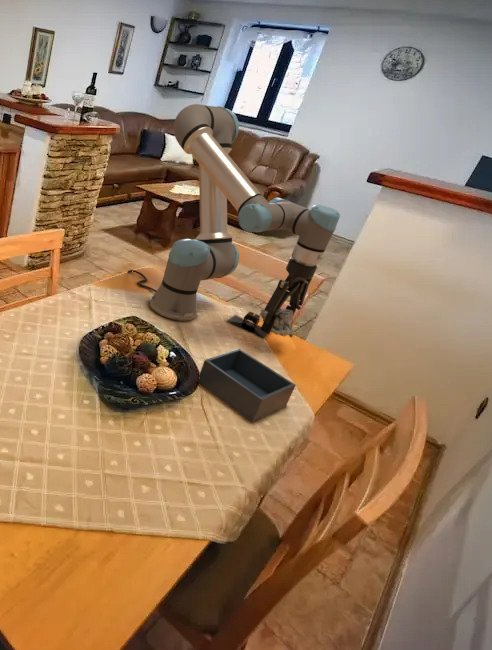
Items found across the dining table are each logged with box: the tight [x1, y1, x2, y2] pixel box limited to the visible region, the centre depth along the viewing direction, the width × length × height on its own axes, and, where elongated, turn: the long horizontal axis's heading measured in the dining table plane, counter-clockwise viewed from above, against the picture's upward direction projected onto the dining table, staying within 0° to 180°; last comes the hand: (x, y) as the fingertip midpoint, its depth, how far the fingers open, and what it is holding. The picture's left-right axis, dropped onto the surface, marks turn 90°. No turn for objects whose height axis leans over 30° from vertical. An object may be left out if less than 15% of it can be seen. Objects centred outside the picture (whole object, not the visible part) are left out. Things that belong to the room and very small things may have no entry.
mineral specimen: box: [259, 308, 295, 338], centre depth 151 cm, size 10×8×10 cm
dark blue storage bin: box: [198, 348, 296, 423], centre depth 128 cm, size 18×15×7 cm
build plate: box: [227, 311, 268, 339], centre depth 164 cm, size 12×7×5 cm, turn 51°
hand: (274, 328), depth 152 cm, fingers closed on mineral specimen, 9 cm apart
